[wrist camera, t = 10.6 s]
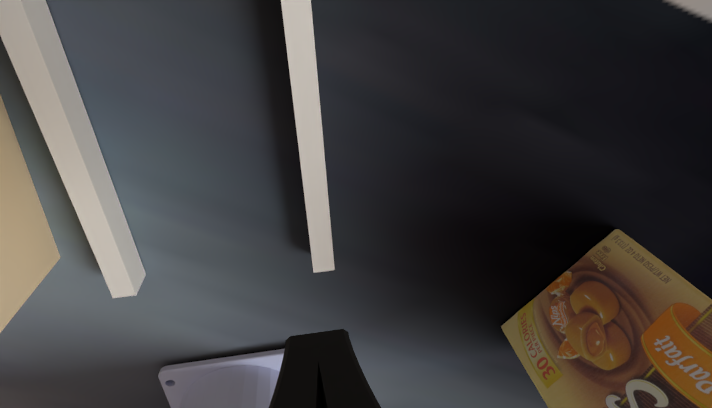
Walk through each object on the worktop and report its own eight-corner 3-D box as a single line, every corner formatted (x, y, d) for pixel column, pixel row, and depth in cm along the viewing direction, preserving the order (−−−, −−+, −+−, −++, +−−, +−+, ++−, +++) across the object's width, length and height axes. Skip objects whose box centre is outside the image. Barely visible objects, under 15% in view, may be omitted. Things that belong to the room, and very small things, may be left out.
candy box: (535, 350, 27) (775, 712, 14) (494, 324, 25) (723, 709, 12) (650, 257, 25) (1079, 591, 11) (613, 222, 23) (1067, 565, 10)
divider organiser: (331, 251, 21) (340, 306, 18) (-82, 302, 19) (-164, 374, 16) (300, -91, 14) (305, -112, 11) (-351, -67, 12) (-603, -83, 9)
